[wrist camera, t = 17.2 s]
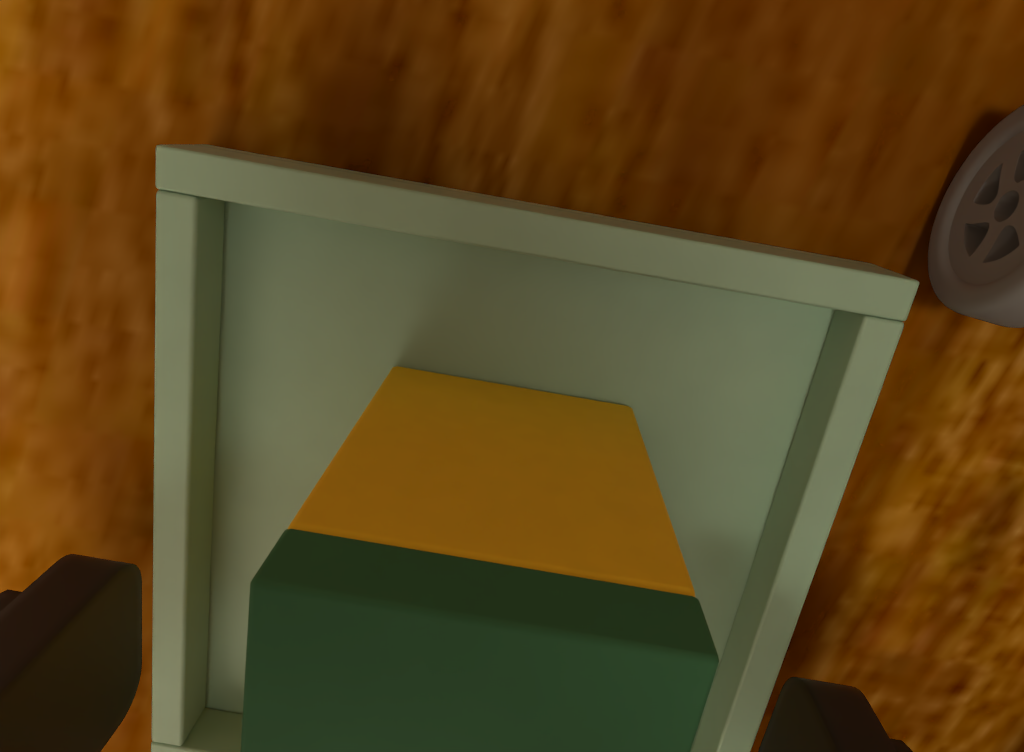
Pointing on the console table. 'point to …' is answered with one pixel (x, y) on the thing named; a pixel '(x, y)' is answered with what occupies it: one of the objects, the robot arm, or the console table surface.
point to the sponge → (478, 586)
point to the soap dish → (497, 359)
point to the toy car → (984, 230)
